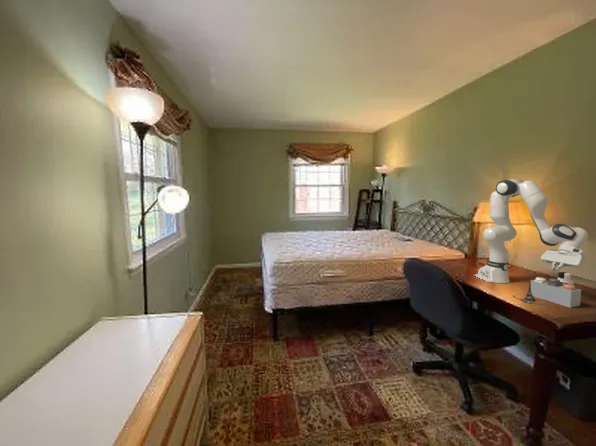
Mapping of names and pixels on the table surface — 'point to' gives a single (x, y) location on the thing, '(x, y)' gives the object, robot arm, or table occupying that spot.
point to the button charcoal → (554, 282)
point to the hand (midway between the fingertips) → (554, 269)
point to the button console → (556, 294)
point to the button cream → (540, 280)
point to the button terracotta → (569, 287)
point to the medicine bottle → (565, 278)
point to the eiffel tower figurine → (531, 300)
